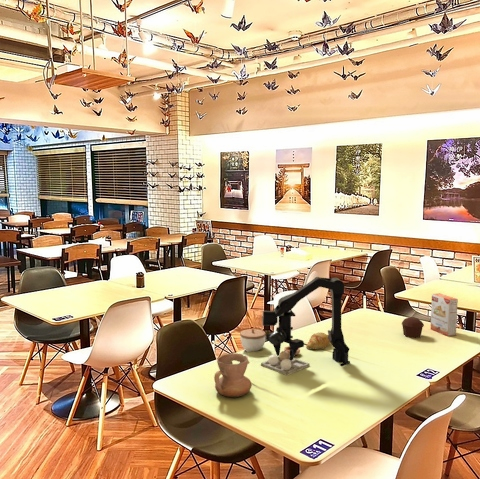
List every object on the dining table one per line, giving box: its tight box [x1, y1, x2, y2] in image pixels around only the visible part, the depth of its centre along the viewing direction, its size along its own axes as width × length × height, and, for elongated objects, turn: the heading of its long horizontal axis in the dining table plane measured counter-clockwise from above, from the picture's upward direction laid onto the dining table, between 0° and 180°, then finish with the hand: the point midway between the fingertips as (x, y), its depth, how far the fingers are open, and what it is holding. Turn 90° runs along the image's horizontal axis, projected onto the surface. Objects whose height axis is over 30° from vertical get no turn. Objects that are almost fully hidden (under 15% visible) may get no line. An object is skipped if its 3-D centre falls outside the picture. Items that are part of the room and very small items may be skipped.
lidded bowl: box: [240, 328, 266, 353], centre depth 229 cm, size 13×13×11 cm
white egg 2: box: [281, 359, 291, 370], centre depth 201 cm, size 5×5×5 cm
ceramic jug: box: [213, 352, 252, 398], centre depth 181 cm, size 18×14×14 cm
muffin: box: [401, 316, 425, 339], centre depth 251 cm, size 12×11×10 cm
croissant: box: [305, 332, 331, 350], centre depth 236 cm, size 21×10×8 cm, turn 137°
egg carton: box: [260, 356, 310, 376], centre depth 207 cm, size 16×16×2 cm
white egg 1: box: [267, 354, 279, 366], centre depth 207 cm, size 5×5×5 cm
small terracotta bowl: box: [283, 345, 301, 356], centre depth 221 cm, size 7×7×4 cm
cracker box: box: [430, 293, 459, 337], centre depth 256 cm, size 14×6×21 cm, turn 17°
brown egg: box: [278, 350, 290, 360], centre depth 212 cm, size 5×5×5 cm
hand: (284, 358), depth 212 cm, fingers open, 8 cm apart
